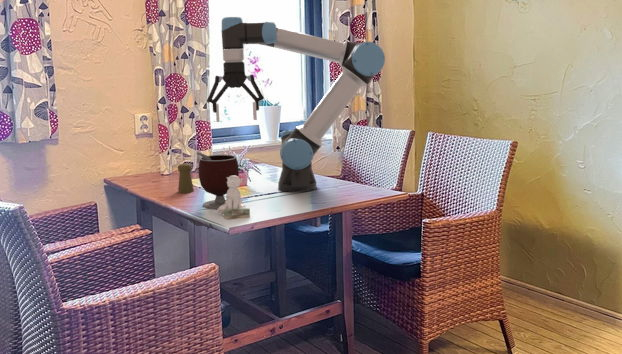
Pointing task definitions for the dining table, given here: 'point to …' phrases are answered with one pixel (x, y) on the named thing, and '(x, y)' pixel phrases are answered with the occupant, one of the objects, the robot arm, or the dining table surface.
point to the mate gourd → (216, 176)
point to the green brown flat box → (237, 213)
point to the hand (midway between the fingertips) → (236, 120)
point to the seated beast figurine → (232, 195)
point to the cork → (185, 178)
